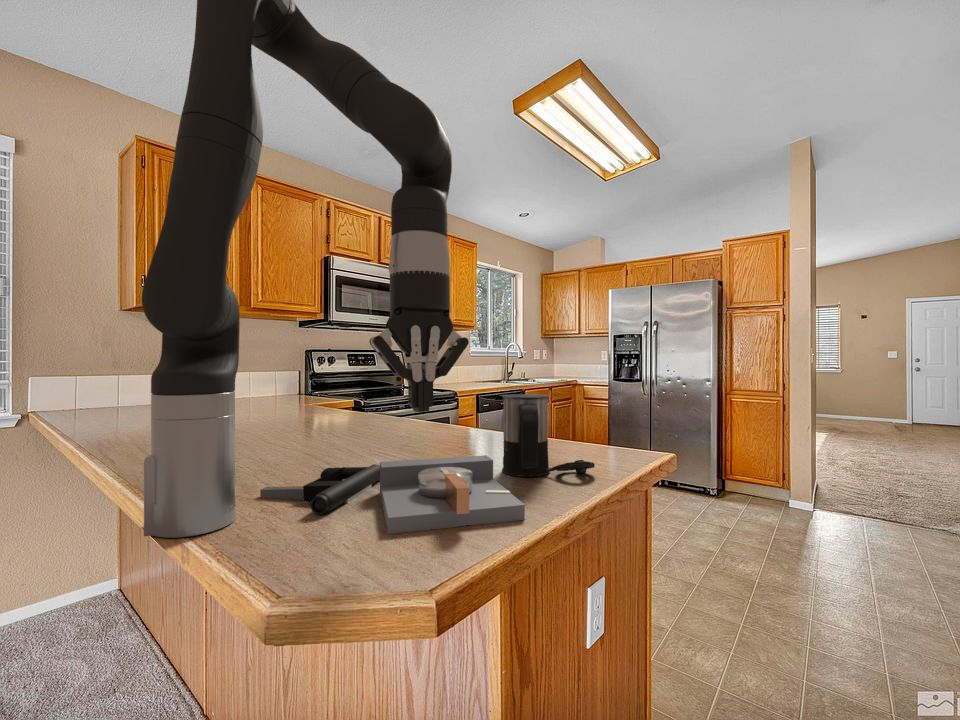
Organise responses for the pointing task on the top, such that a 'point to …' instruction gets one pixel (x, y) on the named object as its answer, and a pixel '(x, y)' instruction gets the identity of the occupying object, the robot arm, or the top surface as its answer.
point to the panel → (426, 513)
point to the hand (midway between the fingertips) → (421, 411)
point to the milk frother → (530, 437)
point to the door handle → (329, 487)
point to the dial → (447, 486)
